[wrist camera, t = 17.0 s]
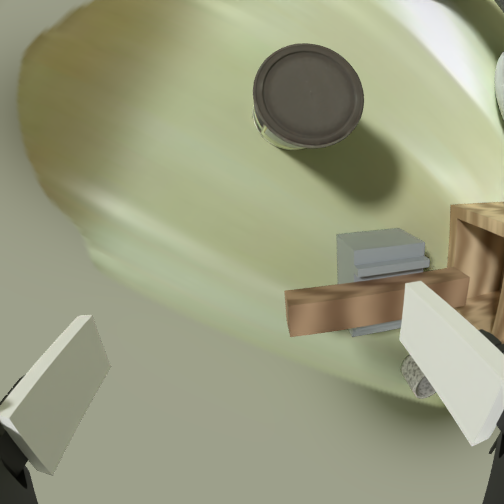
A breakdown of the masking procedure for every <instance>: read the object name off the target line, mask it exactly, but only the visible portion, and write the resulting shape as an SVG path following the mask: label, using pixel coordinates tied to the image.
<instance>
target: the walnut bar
mask: <svg viewBox="0 0 504 504" xmlns="http://www.w3.org/2000/svg"><path fill="white" fill-rule="evenodd" d="M417 281H422V282H423V283H424V284H425V285H426V286H428V287H429V288H430V289H431V290H433V291H434V292H435V293H436V294H437V295H438V296H440V297H441V298H442V299H443V300H444V301H446V302H447V303H448V304H449V305H450V306H451V307H452V308H456V307H460V306H464V305H466V300H467V294H468V287H469V281H470V277H469V276H467V275H466V274H464V273H463V272H461V271H460V270H458V269H457V268H455V267H450V268H444V269H438V270H432V271H426V272H420V273H414V274H407V275H401V276H394V277H387V278H380V279H373V280H366V281H359V282H352V283H344V284H337V285H329V286H321V287H313V288H304V289H296V290H287V291H285V303H286V317H287V324H288V328H289V333H290V337H294V336H302V335H310V334H317V333H325V332H331V331H338V330H345V329H351V328H357V327H363V326H369V325H375V324H380V323H386V322H391V321H396V320H401V319H402V314H403V305H404V294H405V283H411V282H417Z"/></svg>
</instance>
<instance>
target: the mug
mask: <svg viewBox="0 0 504 504" xmlns="http://www.w3.org/2000/svg"><path fill="white" fill-rule="evenodd" d="M401 373H402V375H403V376H404V378H405V380H406V381H407V383H408V384H409V386H410V388H411V389H412V391H413V393H414V394H415V396H416V397H417V398H427V397H430V396H431V395H433V394H435V393H436V391H435V389H434V388H433V386H432V385H431V384H430V382H429V381H428V379H427V378H426V376H425V375H424V374H423V372H422V371H421V369H420V368H419V366H418V365H417V364H416V362H415V361H414V359H413V358H412V357H411V355H408V356H407V357H406V358H405V360H404V361H403V363H402V365H401Z"/></svg>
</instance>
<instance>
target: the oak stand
mask: <svg viewBox="0 0 504 504" xmlns="http://www.w3.org/2000/svg"><path fill="white" fill-rule="evenodd" d="M450 267H455V268H457V269H458V270H460V271H461V272H463V273H464V274H466V275H467V276H469V277H470V281H469V287H468V294H467V300H466V305H464V306H460V307H456V308H454V309H455V310H456V311H457V312H458V313H459V314H460V315H462V316H463V317H464V318H465V319H466V320H467V321H468V322H470V323H471V324H472V325H473V326H474V327H475V328H476V329H477V330H480V329H483V330H485V331H487V332H489V333H491V334H493V335H494V336H495V337H496V338H497V339H499V340H500V341H501V342H502V344H504V202H492V203H473V204H455V205H451V211H450V237H449V252H448V263H447V268H450Z"/></svg>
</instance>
